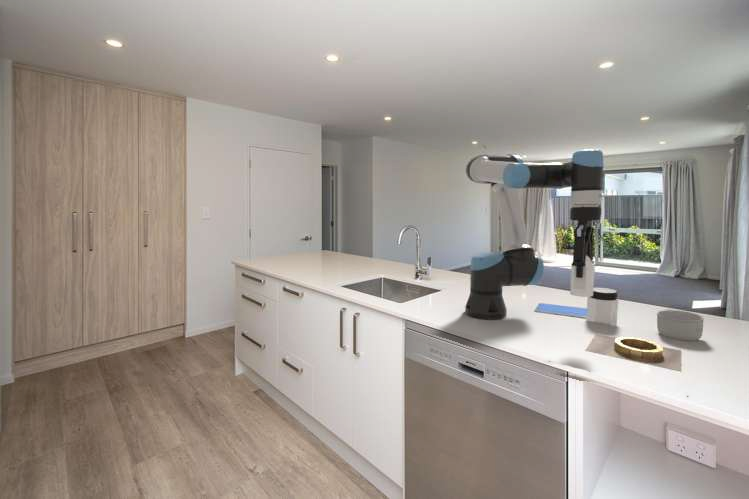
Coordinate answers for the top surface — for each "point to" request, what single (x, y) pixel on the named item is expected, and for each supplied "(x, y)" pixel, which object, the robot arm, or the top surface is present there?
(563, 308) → the tablet computer
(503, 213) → the robot arm
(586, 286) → the white tall rounded piece
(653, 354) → the collar
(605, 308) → the jar
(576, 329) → the top surface
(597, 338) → the walnut board
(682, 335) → the teacup
